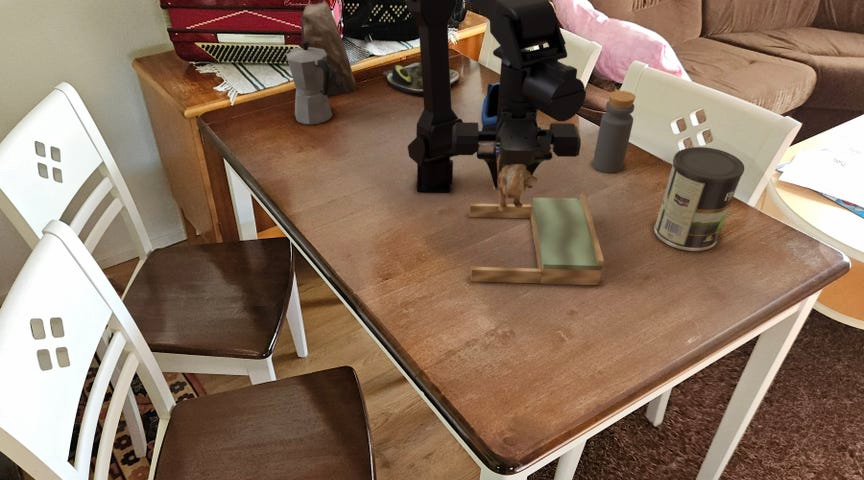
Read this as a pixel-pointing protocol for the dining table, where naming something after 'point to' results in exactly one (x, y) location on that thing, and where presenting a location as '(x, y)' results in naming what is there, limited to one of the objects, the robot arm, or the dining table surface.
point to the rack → (550, 243)
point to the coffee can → (697, 198)
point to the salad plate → (411, 78)
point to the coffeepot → (310, 84)
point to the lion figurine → (512, 183)
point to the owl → (328, 46)
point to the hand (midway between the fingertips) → (509, 187)
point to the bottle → (614, 132)
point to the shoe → (491, 111)
